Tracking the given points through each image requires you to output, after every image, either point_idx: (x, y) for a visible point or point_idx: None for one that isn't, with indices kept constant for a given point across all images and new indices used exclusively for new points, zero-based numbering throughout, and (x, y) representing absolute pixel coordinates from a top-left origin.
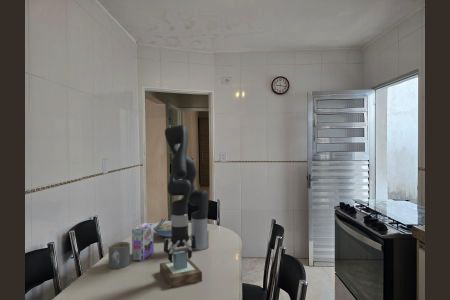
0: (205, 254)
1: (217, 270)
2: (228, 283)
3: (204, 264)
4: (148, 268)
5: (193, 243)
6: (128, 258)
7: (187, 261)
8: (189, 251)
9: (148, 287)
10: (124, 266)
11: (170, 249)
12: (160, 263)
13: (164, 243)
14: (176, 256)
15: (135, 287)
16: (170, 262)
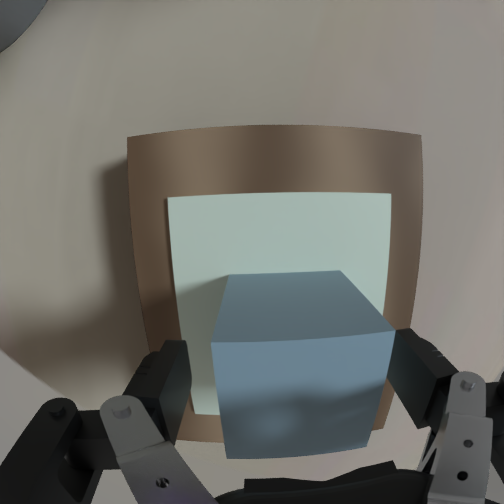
0: (498, 40)
1: (490, 294)
2: None
3: (479, 170)
4: (101, 65)
5: (502, 472)
6: (14, 3)
7: (393, 208)
8: (419, 424)
9: (78, 348)
10: (13, 38)
11: (137, 440)
12: (130, 146)
13: (4, 498)
14: (227, 455)
15: (28, 316)
16: (228, 156)
